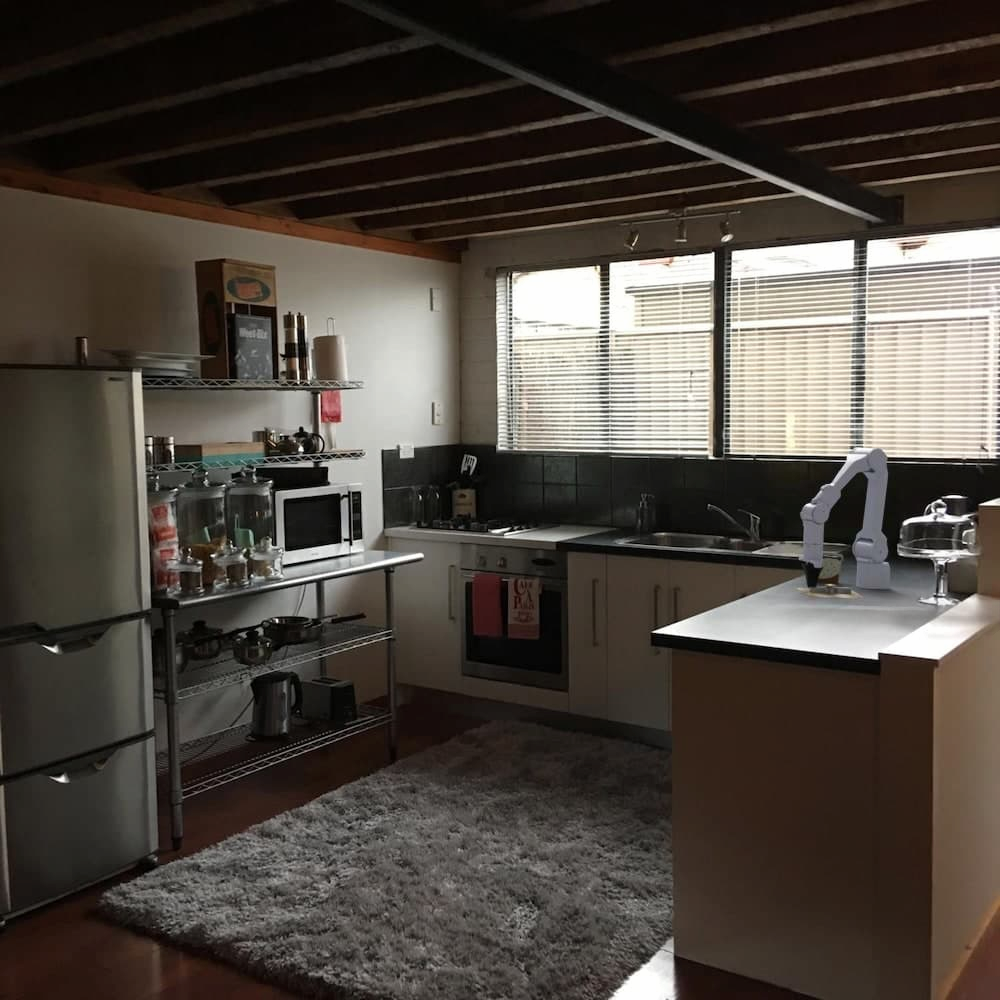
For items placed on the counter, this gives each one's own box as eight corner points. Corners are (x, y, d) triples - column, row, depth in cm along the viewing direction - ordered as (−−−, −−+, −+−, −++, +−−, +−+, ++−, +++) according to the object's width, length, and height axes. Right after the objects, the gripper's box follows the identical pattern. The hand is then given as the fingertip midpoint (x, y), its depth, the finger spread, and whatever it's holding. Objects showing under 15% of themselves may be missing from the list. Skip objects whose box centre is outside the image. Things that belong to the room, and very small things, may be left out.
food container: (838, 583, 347) (840, 552, 347) (843, 586, 341) (844, 554, 341) (799, 582, 349) (800, 551, 348) (803, 585, 343) (804, 553, 342)
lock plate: (849, 592, 330) (850, 581, 330) (864, 601, 314) (865, 589, 314) (796, 591, 331) (797, 580, 330) (809, 600, 315) (809, 588, 314)
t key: (848, 592, 324) (848, 586, 324) (852, 594, 320) (852, 589, 320) (808, 591, 324) (808, 586, 324) (811, 593, 320) (811, 588, 320)
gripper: (794, 540, 333) (792, 584, 334) (805, 546, 318) (803, 591, 319) (817, 540, 332) (816, 584, 333) (829, 546, 318) (827, 592, 319)
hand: (811, 588), depth 326 cm, fingers closed
